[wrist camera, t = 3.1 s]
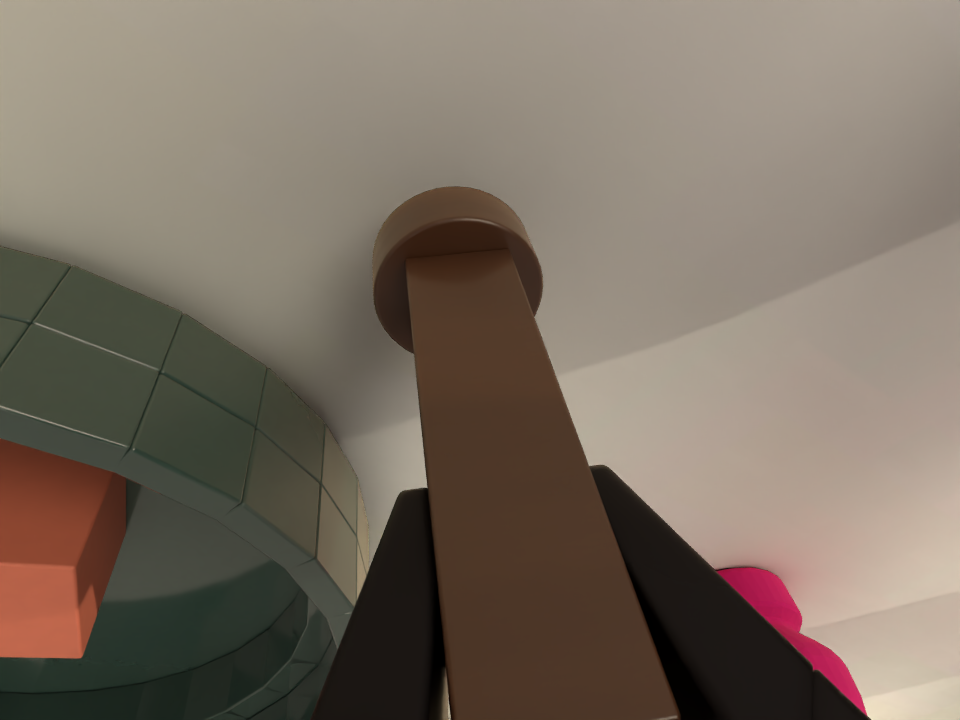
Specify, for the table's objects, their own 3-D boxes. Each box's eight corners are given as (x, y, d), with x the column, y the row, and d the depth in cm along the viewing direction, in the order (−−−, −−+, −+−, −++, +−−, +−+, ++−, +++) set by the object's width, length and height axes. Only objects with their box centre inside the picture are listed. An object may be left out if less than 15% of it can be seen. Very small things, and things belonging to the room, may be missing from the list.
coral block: (126, 531, 20) (82, 660, 16) (-28, 521, 18) (-107, 656, 15) (126, 440, 17) (75, 568, 14) (-49, 420, 16) (-147, 556, 13)
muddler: (527, 315, 15) (702, 809, 7) (382, 331, 15) (404, 864, 7) (530, 178, 13) (782, 668, 5) (361, 192, 13) (357, 738, 5)
